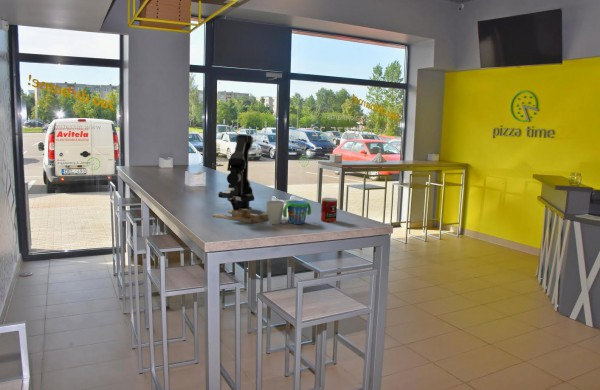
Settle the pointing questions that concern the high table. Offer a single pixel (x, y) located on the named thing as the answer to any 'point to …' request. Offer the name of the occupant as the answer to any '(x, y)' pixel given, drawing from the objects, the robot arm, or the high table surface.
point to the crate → (241, 213)
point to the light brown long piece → (254, 219)
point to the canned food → (328, 209)
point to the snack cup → (297, 211)
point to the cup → (275, 211)
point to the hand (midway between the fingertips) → (235, 213)
